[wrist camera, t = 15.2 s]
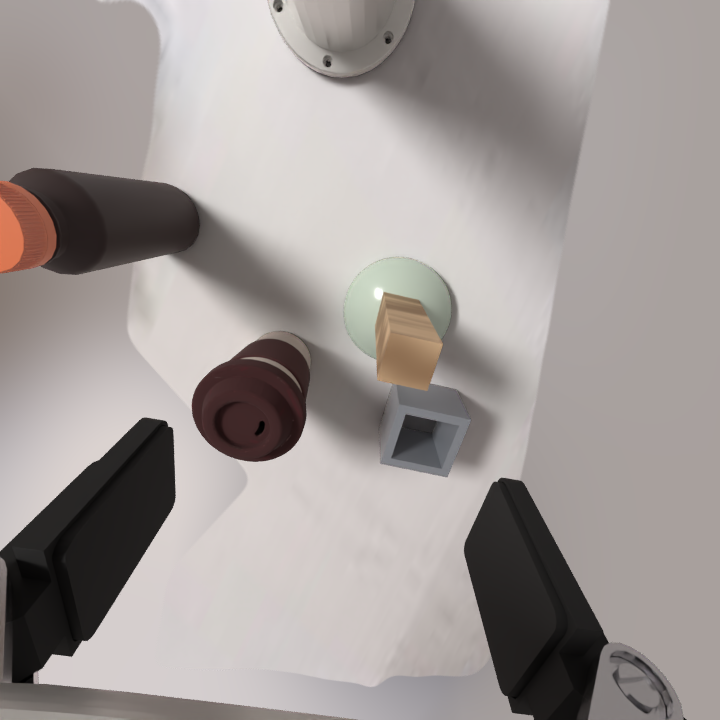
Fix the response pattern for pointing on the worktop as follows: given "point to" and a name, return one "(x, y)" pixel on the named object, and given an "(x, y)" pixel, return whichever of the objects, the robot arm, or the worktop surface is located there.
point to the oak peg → (405, 343)
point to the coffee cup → (256, 399)
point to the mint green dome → (399, 280)
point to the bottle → (89, 221)
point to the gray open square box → (419, 446)
